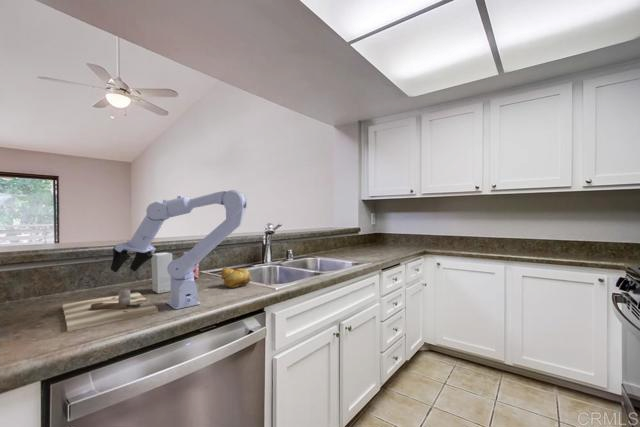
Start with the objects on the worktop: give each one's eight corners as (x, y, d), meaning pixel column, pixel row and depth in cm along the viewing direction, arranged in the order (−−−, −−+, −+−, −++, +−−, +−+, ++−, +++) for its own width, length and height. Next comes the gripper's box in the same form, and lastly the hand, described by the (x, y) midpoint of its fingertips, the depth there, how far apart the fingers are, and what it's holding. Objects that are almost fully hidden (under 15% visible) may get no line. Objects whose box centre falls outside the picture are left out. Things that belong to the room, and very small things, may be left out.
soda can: (178, 282, 129) (178, 252, 129) (191, 278, 135) (191, 251, 135) (188, 283, 126) (188, 253, 126) (202, 280, 132) (202, 252, 132)
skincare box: (173, 291, 113) (173, 253, 113) (156, 294, 109) (156, 254, 109) (167, 287, 119) (167, 251, 119) (150, 290, 115) (150, 252, 115)
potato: (244, 281, 131) (244, 263, 131) (257, 284, 125) (257, 265, 125) (218, 286, 121) (218, 267, 121) (231, 290, 115) (231, 270, 115)
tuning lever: (88, 309, 87) (88, 292, 87) (95, 305, 90) (95, 289, 90) (136, 308, 88) (136, 291, 88) (142, 304, 91) (142, 289, 91)
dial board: (158, 312, 89) (158, 308, 89) (67, 331, 74) (67, 326, 74) (137, 295, 108) (137, 291, 108) (62, 307, 93) (62, 303, 93)
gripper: (152, 231, 105) (132, 263, 104) (118, 226, 90) (95, 264, 90) (166, 240, 103) (146, 273, 102) (134, 237, 89) (110, 276, 88)
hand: (123, 270), depth 96 cm, fingers open, 7 cm apart
